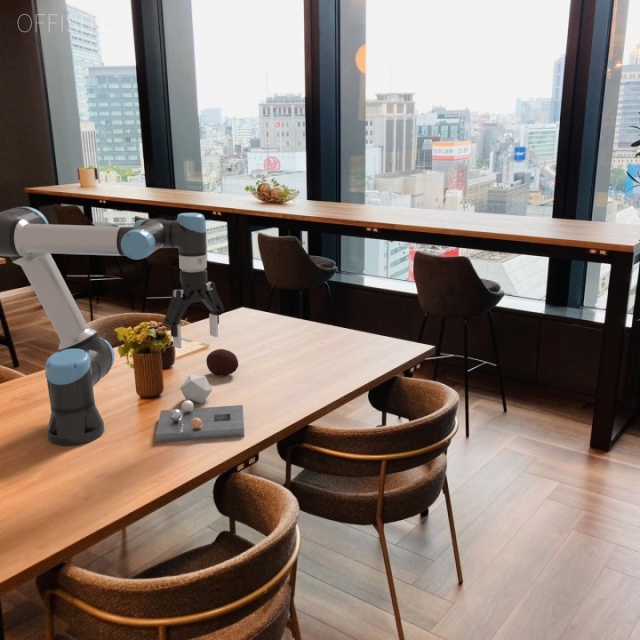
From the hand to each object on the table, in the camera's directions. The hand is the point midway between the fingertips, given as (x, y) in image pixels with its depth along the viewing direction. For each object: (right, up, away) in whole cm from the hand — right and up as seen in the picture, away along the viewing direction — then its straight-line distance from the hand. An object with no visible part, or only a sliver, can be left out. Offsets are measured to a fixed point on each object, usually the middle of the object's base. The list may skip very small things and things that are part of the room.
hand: (196, 341), depth 199 cm
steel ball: (-5, -21, -3) cm, 22 cm away
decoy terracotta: (+1, -22, -7) cm, 24 cm away
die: (-3, -19, +18) cm, 26 cm away
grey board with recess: (+2, -25, -1) cm, 25 cm away
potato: (+2, -13, +39) cm, 41 cm away
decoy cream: (-3, -19, +3) cm, 20 cm away
